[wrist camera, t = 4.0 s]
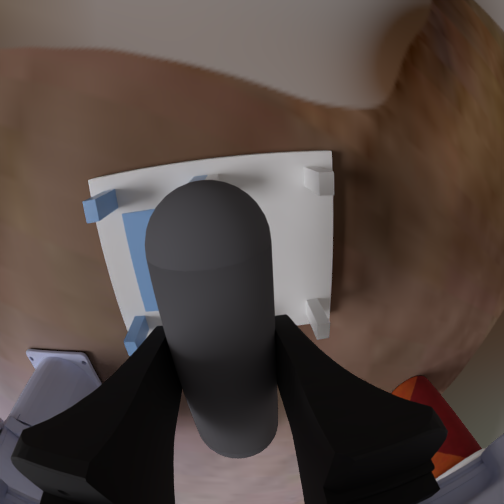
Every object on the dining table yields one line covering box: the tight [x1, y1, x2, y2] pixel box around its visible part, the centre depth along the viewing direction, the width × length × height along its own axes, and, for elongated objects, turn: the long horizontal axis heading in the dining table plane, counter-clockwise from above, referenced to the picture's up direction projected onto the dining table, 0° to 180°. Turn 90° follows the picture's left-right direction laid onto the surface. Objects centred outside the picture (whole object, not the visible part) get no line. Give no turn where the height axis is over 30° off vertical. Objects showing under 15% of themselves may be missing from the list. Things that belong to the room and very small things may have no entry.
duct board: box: [83, 150, 334, 356], centre depth 17 cm, size 12×15×4 cm
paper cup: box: [391, 376, 486, 481], centre depth 21 cm, size 8×8×14 cm
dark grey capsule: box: [145, 180, 278, 458], centre depth 10 cm, size 12×4×4 cm, turn 4°
